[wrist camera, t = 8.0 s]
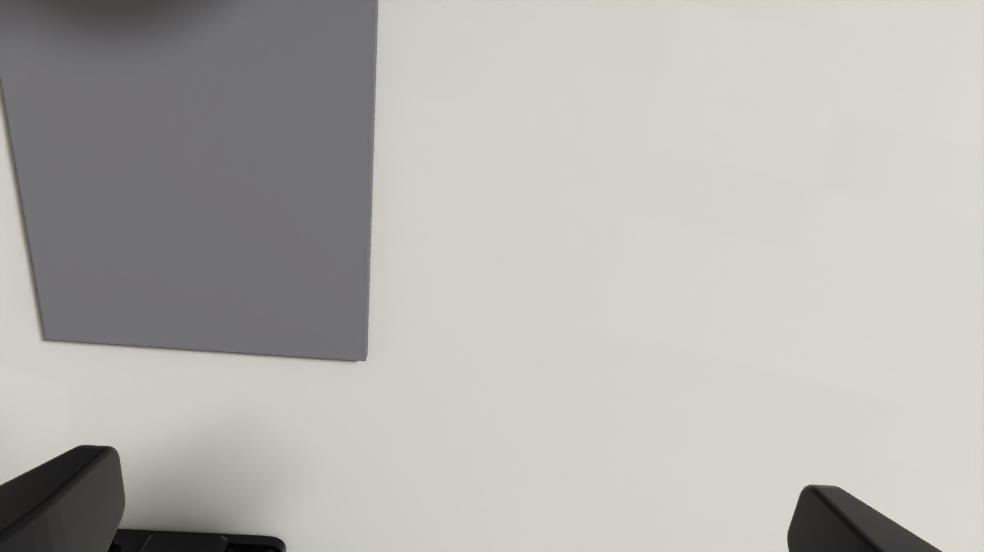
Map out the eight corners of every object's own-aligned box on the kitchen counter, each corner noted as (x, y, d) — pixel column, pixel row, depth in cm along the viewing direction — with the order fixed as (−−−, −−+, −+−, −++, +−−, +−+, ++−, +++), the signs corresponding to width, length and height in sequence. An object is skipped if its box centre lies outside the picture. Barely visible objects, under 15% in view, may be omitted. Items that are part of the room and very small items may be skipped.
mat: (367, 355, 22) (365, 361, 22) (53, 333, 21) (45, 339, 21) (379, -46, 18) (377, -47, 17) (-18, -89, 17) (-29, -91, 16)
